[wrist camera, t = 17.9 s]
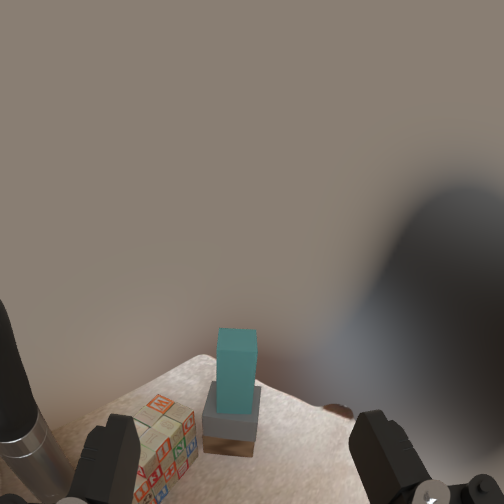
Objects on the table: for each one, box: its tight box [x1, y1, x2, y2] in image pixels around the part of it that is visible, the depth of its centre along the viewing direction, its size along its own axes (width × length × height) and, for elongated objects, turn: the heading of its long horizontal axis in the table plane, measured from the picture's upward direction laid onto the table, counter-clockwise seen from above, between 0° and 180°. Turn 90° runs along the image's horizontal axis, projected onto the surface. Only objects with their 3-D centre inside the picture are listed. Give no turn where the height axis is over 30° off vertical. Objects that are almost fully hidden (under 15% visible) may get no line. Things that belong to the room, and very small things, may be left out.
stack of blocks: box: [132, 394, 198, 504], centre depth 32 cm, size 21×6×12 cm, turn 157°
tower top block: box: [202, 381, 261, 442], centre depth 44 cm, size 8×8×5 cm
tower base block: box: [202, 435, 254, 457], centre depth 46 cm, size 8×8×5 cm
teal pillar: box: [217, 328, 258, 414], centre depth 41 cm, size 5×5×12 cm
